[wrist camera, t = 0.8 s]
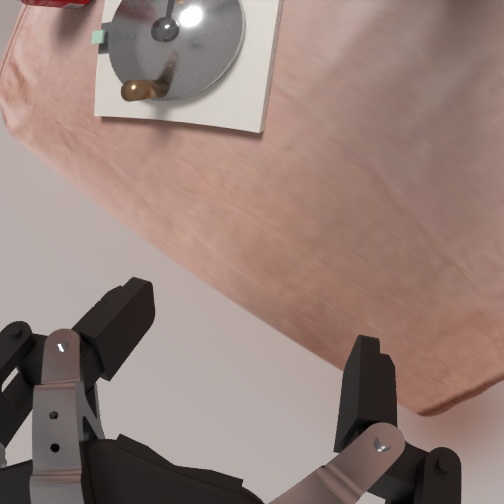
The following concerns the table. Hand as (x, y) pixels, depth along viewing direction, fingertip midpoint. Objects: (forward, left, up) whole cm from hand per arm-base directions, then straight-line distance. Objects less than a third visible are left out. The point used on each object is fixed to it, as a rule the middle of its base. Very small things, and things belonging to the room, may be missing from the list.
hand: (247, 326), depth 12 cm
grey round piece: (-13, -18, -26) cm, 34 cm away
